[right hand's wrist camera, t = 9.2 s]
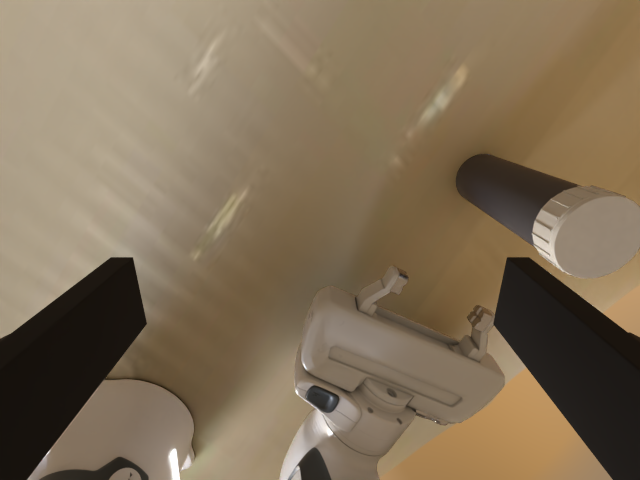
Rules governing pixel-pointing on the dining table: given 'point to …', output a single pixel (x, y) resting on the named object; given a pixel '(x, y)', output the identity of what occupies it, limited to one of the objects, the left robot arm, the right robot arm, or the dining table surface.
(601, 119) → the dining table surface
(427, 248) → the dining table surface
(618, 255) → the lid
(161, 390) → the left robot arm
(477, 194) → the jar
